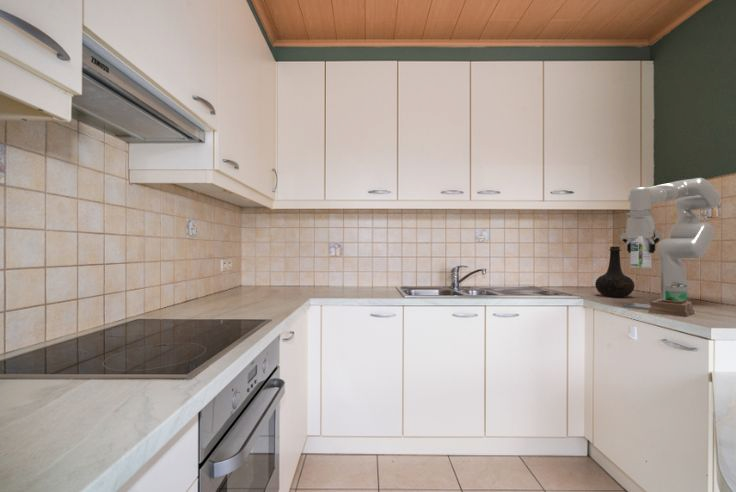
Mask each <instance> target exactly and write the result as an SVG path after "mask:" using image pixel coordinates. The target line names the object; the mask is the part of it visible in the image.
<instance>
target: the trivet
mask: <svg viewBox="0 0 736 492" xmlns="http://www.w3.org/2000/svg"><path fill="white" fill-rule="evenodd" d="M622 307H623V308H632V309H641V310H647V311H649V309H650V304H647V303H638V302H630V303H625V304H623V305H622Z"/></svg>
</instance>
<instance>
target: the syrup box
mask: <svg viewBox="0 0 736 492" xmlns="http://www.w3.org/2000/svg"><path fill="white" fill-rule="evenodd" d="M650 244H651V242H650V241H649V240H648V239H643V237H642V236H639V237H638V238H637V239H632V240H631V253H630V257H629V258H630V260H629V261H630V263H629V264H630V265H629V266H630V268H634V269H635V268H636V269H651V268H652V256H653V255H652V254H653V253H650Z"/></svg>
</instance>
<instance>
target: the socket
mask: <svg viewBox="0 0 736 492" xmlns="http://www.w3.org/2000/svg"><path fill="white" fill-rule="evenodd" d="M649 305H650V309H649V310H648V313H651V314H657V315H665V316H667V315H668V316H675V317H685V318H686V317H689V316H692V315H694V314H695V309H693V302H692V301H689V302H681V301H670V300H657V299H655V300H652V301H650V304H649Z"/></svg>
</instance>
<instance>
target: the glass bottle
mask: <svg viewBox="0 0 736 492" xmlns="http://www.w3.org/2000/svg"><path fill="white" fill-rule="evenodd" d="M620 248H621V247H620V246H610V247H609V249H608V251H610V252H609V262H608V267H607V271H606V272H605V274H602V275H600V276H598V277H597V278H596V280H595V284H594V285H595V288H596V290H597V292H598V293H599V294H601V295H602V296H605V297H610V298H625V297H628V296H630V295H631V294H632V293H633V291H634V290H635V282H634V280H633V279H632V278H630V276H627V275H626V274H624V273H623V271H622V265H621V251H622V249H620Z"/></svg>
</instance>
